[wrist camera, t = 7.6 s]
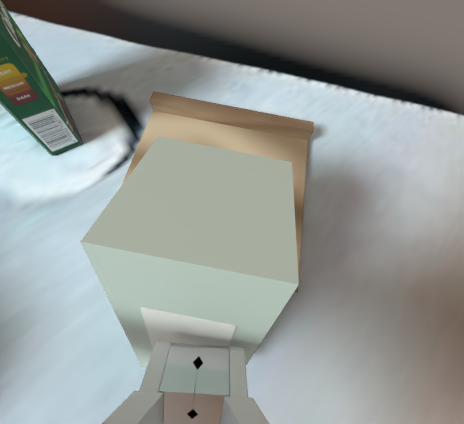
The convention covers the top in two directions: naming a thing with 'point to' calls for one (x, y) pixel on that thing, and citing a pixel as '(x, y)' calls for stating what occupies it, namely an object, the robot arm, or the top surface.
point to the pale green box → (198, 247)
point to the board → (232, 136)
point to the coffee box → (32, 91)
